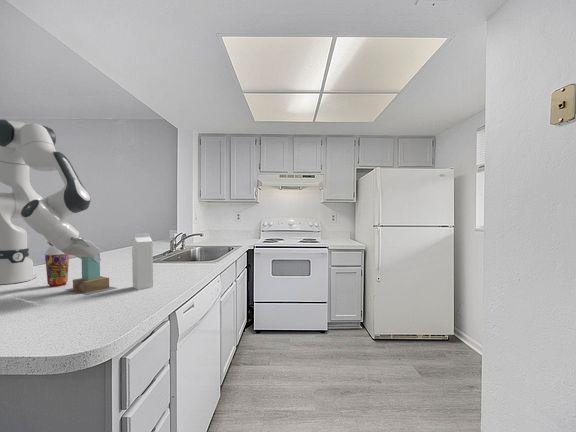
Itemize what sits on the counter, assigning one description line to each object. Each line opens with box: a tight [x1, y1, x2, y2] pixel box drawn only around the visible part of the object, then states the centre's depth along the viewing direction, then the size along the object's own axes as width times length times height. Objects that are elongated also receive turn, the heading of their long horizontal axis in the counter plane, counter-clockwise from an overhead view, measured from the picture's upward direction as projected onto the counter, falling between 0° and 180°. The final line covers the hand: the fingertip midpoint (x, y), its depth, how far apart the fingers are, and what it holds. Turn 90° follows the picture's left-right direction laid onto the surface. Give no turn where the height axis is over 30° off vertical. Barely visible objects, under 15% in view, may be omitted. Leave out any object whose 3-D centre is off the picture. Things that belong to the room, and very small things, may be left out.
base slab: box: [72, 275, 110, 293], centre depth 131 cm, size 9×9×4 cm
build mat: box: [64, 285, 118, 296], centre depth 131 cm, size 16×12×1 cm
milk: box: [131, 232, 154, 290], centre depth 134 cm, size 6×6×22 cm
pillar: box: [81, 251, 101, 280], centre depth 131 cm, size 4×4×11 cm
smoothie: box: [44, 245, 70, 288], centre depth 138 cm, size 8×8×20 cm
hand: (92, 260), depth 131 cm, fingers open, 7 cm apart
